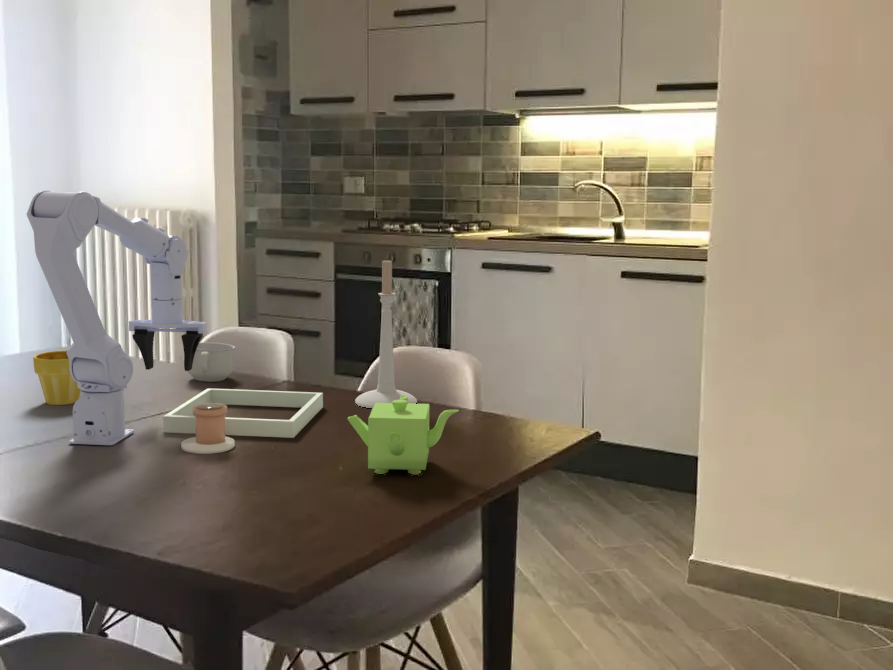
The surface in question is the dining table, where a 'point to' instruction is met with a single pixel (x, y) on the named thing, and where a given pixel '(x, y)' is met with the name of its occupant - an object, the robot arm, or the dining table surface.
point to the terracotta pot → (210, 423)
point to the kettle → (399, 435)
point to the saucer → (206, 446)
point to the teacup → (212, 362)
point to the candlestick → (385, 351)
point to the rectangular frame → (308, 401)
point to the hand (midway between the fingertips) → (168, 369)
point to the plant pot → (56, 378)
